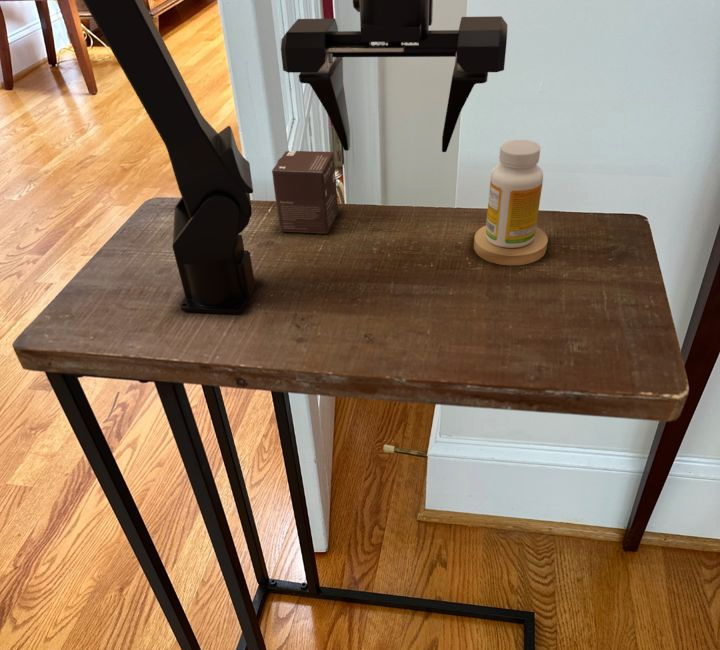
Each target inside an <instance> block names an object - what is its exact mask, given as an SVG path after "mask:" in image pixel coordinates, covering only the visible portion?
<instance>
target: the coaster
mask: <svg viewBox="0 0 720 650" xmlns="http://www.w3.org/2000/svg"><path fill="white" fill-rule="evenodd" d="M548 242H549V237H548V236H547V234H546V232H545V231H544V230H543V229H541V228H540V227H538V226H536V232H535V237H534V239H533V241H532V242H531V243H529V244H528V245H526V246H523V247H518V248H505V247H499V246H496V245H494V244H492V243H490V242H489V241H488V240H487V238H486V225H484V226H482V227H480V228H479V229H478V230H477V231H476V232H475V234H474V239H473V250H474V252H475V254H476V255H477V256H479V258H480V259H482V260H485V261H486V262H489V263H491V264H496V265H502V266H524V265H528V264H532V263H534V262H537V261H539V260H540V259H542V258H543V257H544V256H545V254H546V252H547V248H548Z"/></svg>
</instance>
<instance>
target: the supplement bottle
mask: <svg viewBox="0 0 720 650" xmlns="http://www.w3.org/2000/svg"><path fill="white" fill-rule="evenodd" d="M540 156H541V146H540V144H538V143H537V142H535V141H532V140H528V139H512V140H507V141H504V142H503V143H502V144H501V145H500V149H499V156H498V159H499V164H497V165H495V167H494V168H493V169H492V171H491V174H490V181H489V190H488V191H489V192H488V202H487V213H486V222H485V226H486V238H487V240H488V241H489V242H490V243H492V244H494V245H496V246H499V247H505V248H518V247H523V246H526V245H528V244H529V243H531V242H532V241H533V239H534V237H535V232H536V227H537V225H538V217H539V211H540V210H539V209H540V203H541V196H542V191H543V190H542V189H543V183H544V172H543V170H542V168H541V167H540V166H539V165H537V164H538V163H539V161H540Z"/></svg>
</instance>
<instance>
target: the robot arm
mask: <svg viewBox="0 0 720 650" xmlns="http://www.w3.org/2000/svg"><path fill="white" fill-rule="evenodd" d="M82 1H83V3H84V5H85V6H86V8H87V10H88V12H89V14H90V15H91V17H92V19H93V21H94V22H95V24H96V26H97V28H98V29H99V32H100V33H101V34H102V36H103V39H104V40H105V42H106V43H107V45H108V47H109V49H110V51H111V53H112V54H113V56H114V57H115V59H116V61H117V63H118V64H119V66H120V68H121V70H122V71H123V73H124V75H125V77H126V79H127V80H128V82H129V84H130V85H131V87H132V89H133V91H134V92H135V95H136V96H137V98H138V100H139V101H140V103H141V105H142V106H143V109H144V110H145V112H146V114H147V115H148V117H149V119H150V121H151V122H152V124H153V126H154V128H155V130H156V131H157V133H158V135H159V137H160V139H161V140H162V142H163V144H164V145H165V149H166V151H167V155H168V157H169V160H170V164H171V168H172V170H173V174H174V178H175V180H176V185H177V187H178V190H179V193H180V195H181V197H180V199H179V200H178V201H177V203H176V204H175V206H174V211H173V212H174V213H173V214H174V215H173V233H172V251H173V255H174V258H175V262H176V266H177V271H178V274H179V278H180V281H181V286H182V289H183V292H184V298H183V300H182V301H181V303H180V305H179V308H180V310H181V311H182V312H194V313H213V314H233V315H234V314H235V315H237V314H240V313H242V312H243V310H244V308H245V306H246V304H247V302H248V300H249V299H250V298H251V296H252V294H253V292H254V290H255V288H256V284H257V280H256V278H255V275H254V269H253V263H252V257H251V252H250V251H249V250H246V249H245V244H244V239H243V234H241V233H242V232H244V230H245V229H246V228H247V226H248V225H249V223H250V221H251V217H252V215H253V211H252V202H251V201H252V200H251V194H254V187H253V180H252V172H251V164H250V162H249V161H248V160H247V159H246V158H245V157H244V156H243V155H242V153H241V151H240V150H239V148H238V146H237V145H238V144H237V142H236V139H235V136H234V133H233V130H232V126H230V125H227V126H226V127H225V128H223V129H222V130H220V131H219V132H218V131H216V129H215V128H214V127H213V126H212V125H211V124H210V123H209V122H208V121H207V120H206V119H205V117H204V116H203V115H202V113H201V111H200V109H199V107H198V105H197V103H196V101H195V99H194V97H193V95H192V93H191V91H190V90H189V87H188V86H187V84H186V82H185V80H184V77H183V75H182V74H181V72H180V70H179V68H178V66H177V63H176V62H175V60H174V58H173V56H172V55H171V53H170V50H169V49H168V47H167V44H166V43H165V41H164V39H163V37H162V35H161V33H160V31H159V29H158V27H157V25H156V24H155V20H154V19H153V17H152V16H151V14H150V11H149V9H148V7H147V6H146V3H145V2H144V0H82ZM352 7H353V8H354V10H355V11H356V12H357V13H359V24H360V25H359V26H360V30H349V31H347V30H341V31H340V30H339V26H338V23H337V20H336V18H297V19H296V21H295V22H294V23H293V24H292V25H291V26H290V27H289V29H288V30H287V31H286V32H285V34H284V35H283V37H282V38H281V41H280V54H281V55H280V56H281V64H282V71H283V72H286V73H289V74H290V73H293V74H294V73H295V74H296V73H297V74H298V73H299V74H298V82H299V83H300V84H308V85H309V86H310V87H311V89H312V90H313V92H314V94H315V95H316V97H317V98H318V100H319V102H320V103H321V106H322V107H323V108H324V111H325V112H326V114H327V116H328V118H329V121H330V123H331V125H332V127H333V129H334V131H335V133H336V135H337V137H338V139H339V142H340V144H341V146H342V148H343V151H345V152H346V151H347V152H348V151H349V150H350V148H351V129H350V128H351V127H350V122H349V121H350V120H349V115H348V114H349V113H348V107H347V100H346V94H345V85H344V58H455V61H454V65H453V71H452V75H451V76H452V77H451V81H450V88H449V94H448V100H447V106H446V112H445V117H444V125H443V130H442V137H441V152H442V153H446V152H447V151H448V148H449V146H450V142H451V140H452V137H453V134H454V132H455V128H456V126H457V123H458V120H459V117H460V115H461V112H462V110H463V108H464V106H465V104H466V102H467V101H468V98H469V96H470V94H471V93H472V90H473V89H474V87H475V85H477V84H485V83H487V82H488V76H489V73H500V72H503V71H505V64H506V63H505V62H506V53H507V43H508V42H507V41H508V23H507V22H506V20H505V19H504V18H503V16H502V15H501V16H499V15H498V16H496V15H495V16H461V18H460V22H459V27H458V29H451V30H450V29H448V30H447V29H445V30H444V29H442V30H439V29H438V30H434V29H433V30H431V29H430V26H432V25H433V10H434V9H433V8H434V0H352ZM429 29H430V30H429ZM372 43H384V44H379V45H378V44H372ZM410 43H411V44H410Z"/></svg>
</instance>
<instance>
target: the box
mask: <svg viewBox="0 0 720 650" xmlns="http://www.w3.org/2000/svg"><path fill="white" fill-rule="evenodd" d="M334 152H335V151H313V150H312V151H311V150H310V151H309V150H308V151H306V150H286V151H285V152H284V153H283V155H282V156H281V157H280V158H279V159H277V162H276V164H275V166H274V167H273V169H272V170H271V173H272V182H273V183H272V184H273V189H274V198H275V205H276V212H277V218H278V226H279V228H278V229H279V231H280V232H283V233H284V232H285V233H306V234H328V233H329V231H330V230H331V228H332V226H333V224H334V222H335V220H336V218H337V215H338V214H339V205H338V194H337V193H338V192H337V181H336V180H337V179H336V178H337V177H336V168H335V155H334V154H335V153H334Z"/></svg>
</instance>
